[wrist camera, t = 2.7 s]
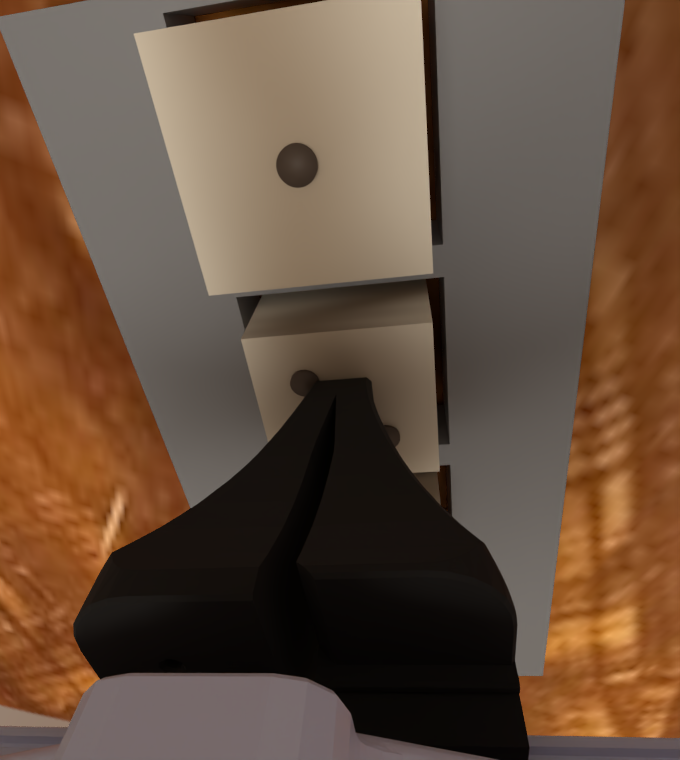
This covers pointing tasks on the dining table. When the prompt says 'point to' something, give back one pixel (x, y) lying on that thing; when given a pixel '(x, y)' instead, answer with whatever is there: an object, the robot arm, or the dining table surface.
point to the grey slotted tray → (450, 264)
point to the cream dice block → (351, 357)
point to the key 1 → (298, 142)
